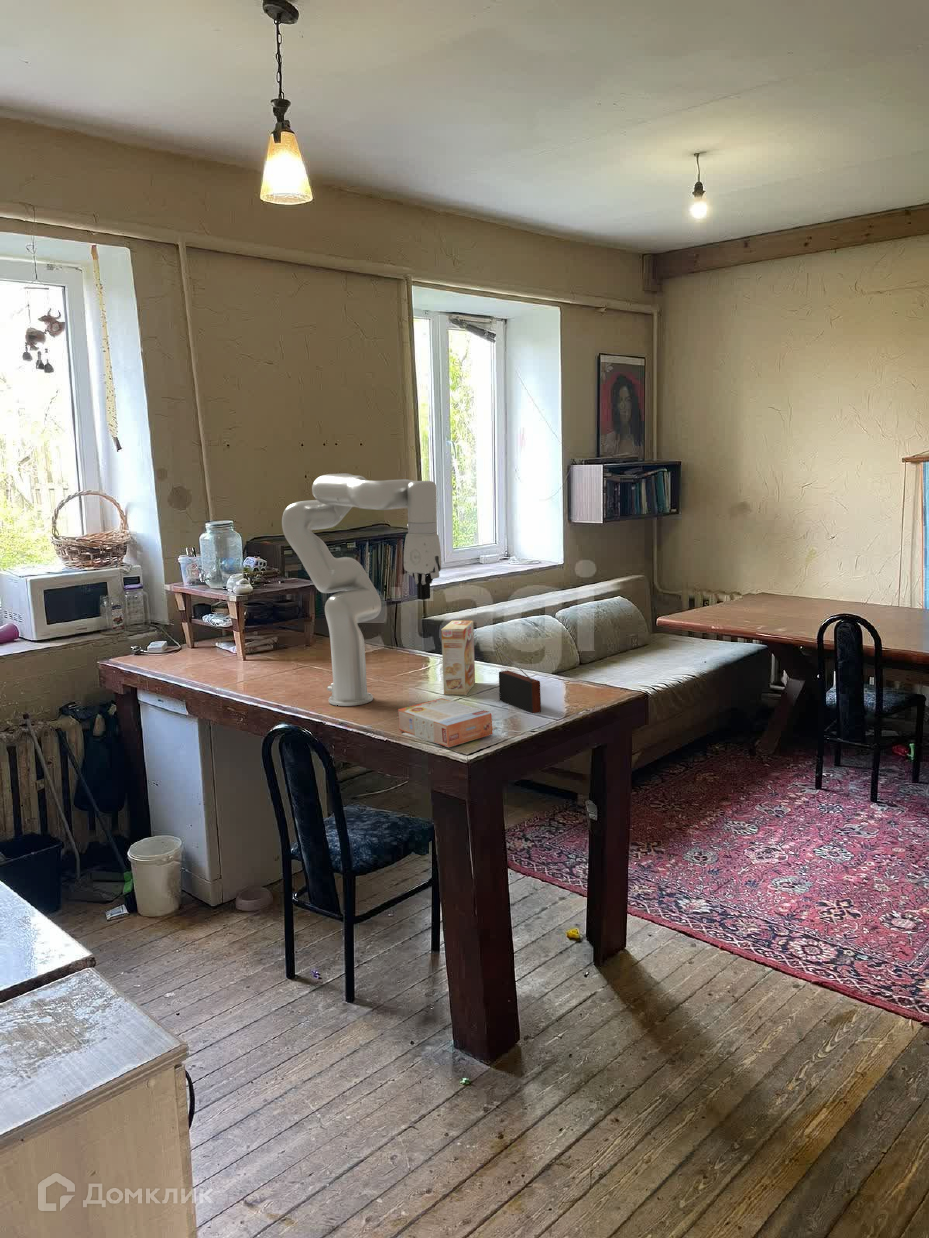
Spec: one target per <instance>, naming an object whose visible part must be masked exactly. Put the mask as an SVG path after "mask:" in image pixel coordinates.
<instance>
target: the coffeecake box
mask: <svg viewBox="0 0 929 1238" xmlns="http://www.w3.org/2000/svg"><path fill="white" fill-rule="evenodd" d="M474 630H475V629H474V620H465V619H464V620H451V621H449V622H448V623H447V624H446V625H445V626H444V627H443V628H441V630H440V631H441V654H442V655H441V657H442V678H443V681H442V683H443V695H444V696H445V695H448V696H449V695H451V696H467V695H468V693H469V692H470V691H471V689H472V688H474V685H475V684H476V672H475V671H476V669H475V668H476V667H475V666H476V665H475V664H476V663H475V641H474V640H475V635H474Z"/></svg>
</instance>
